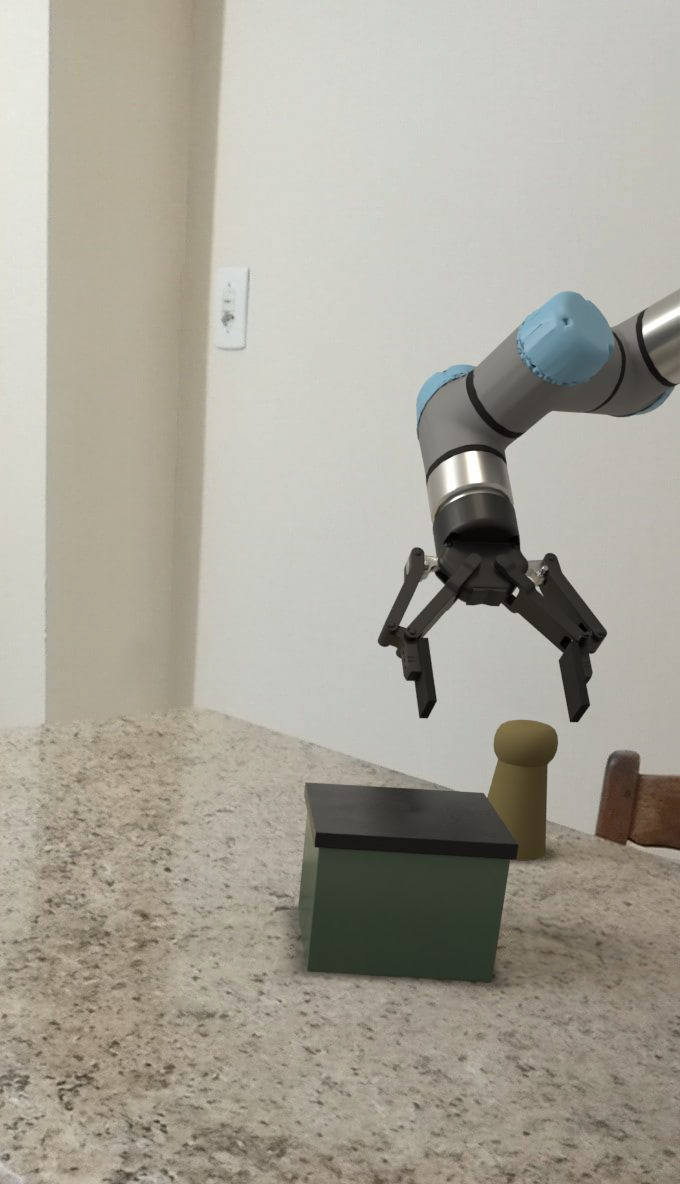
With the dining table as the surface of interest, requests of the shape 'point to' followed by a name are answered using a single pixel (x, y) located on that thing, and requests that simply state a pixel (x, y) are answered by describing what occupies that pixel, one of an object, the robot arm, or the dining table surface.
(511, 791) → the cork
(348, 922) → the bin
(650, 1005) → the dining table surface
